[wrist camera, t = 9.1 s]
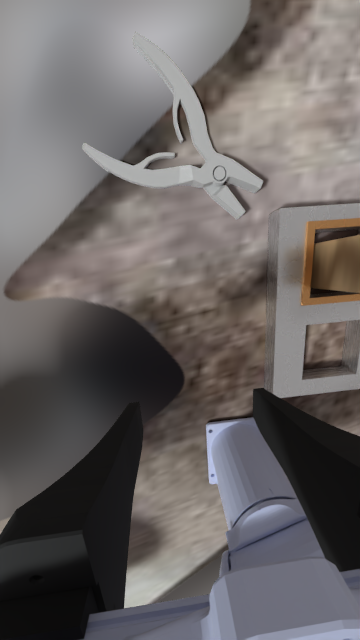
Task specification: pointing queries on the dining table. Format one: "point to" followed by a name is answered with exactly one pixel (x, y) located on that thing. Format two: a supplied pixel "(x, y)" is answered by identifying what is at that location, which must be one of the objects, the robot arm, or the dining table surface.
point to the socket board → (306, 303)
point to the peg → (337, 265)
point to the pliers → (188, 175)
